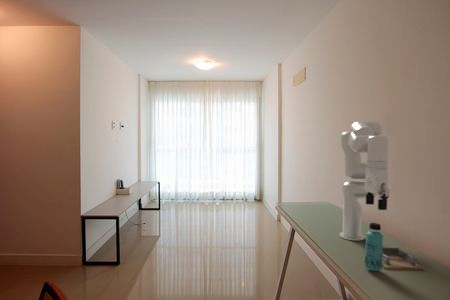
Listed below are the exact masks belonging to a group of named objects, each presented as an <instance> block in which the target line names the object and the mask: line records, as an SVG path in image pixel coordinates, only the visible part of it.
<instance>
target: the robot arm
mask: <svg viewBox="0 0 450 300" xmlns="http://www.w3.org/2000/svg"><path fill="white" fill-rule="evenodd" d="M382 132H383V126H382V124H381V123H380V122H379V121H377V120H360V121H355V122H353V123H352V124H351V126H350V131H344V132H342V133H341V136H340V145H341V148H342V152H343V154H344V175H345V178H347V179H352V180H354V181H351V180H349V181H346V182H344V183H342V189H341V190H342V199H343V201H342V203H343V204H342V205H343V207H342V209H343V210H342V231H341V232H339V237H340V238H343V239H344V240H349V241H358V242H359V241H363V240H364V239H365V236H364V235H362V221H363V220H362V219H363V218H362V215H363V213H362V212H363V207H362V204H361V203H360V202H359V200H365V204H366V205H374V204H375V202H374V201H375V199H376V198H377V197H378V199H377V210H379V211H387V210H388V200H389V196H390V193H391V190H390V188H389V181H388V180H389V178H388V169H389V143H390V142H389V137H388V136H387V135H382ZM363 153H364V154H365V153H366V154H367V156H366V158H367V159H366V162H362V154H363ZM355 180H363V181H355Z"/></svg>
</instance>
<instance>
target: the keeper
mask: <svg viewBox="0 0 450 300" xmlns="http://www.w3.org/2000/svg"><path fill="white" fill-rule="evenodd" d="M382 255H383V256H382V269H384V270H401V271H403V270H407V271H424V267H423V266H421V265H420V264H418V263H417V261H416V260H417V258H415V257H414V256H412V255H411V254H409V253H407V252H406V251H404V250H403V249H401V248H400V247H387V246H386V247H385V246H384V247H383V253H382Z"/></svg>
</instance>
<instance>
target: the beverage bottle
mask: <svg viewBox="0 0 450 300" xmlns="http://www.w3.org/2000/svg"><path fill="white" fill-rule="evenodd" d="M369 229H370V230H368V231H367V232H365V233H366V235H365V236H366V237H365V251H364V266H365V268H367V269H368V270H370V271H375V272H376V271H377V272H380V271H381V270H382V269H383V267H382V256H383V255H382V253H383V246H384V235H383V233H382V232H381V230H382V227H381V224H380V223H377V222H370V223H369Z"/></svg>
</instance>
